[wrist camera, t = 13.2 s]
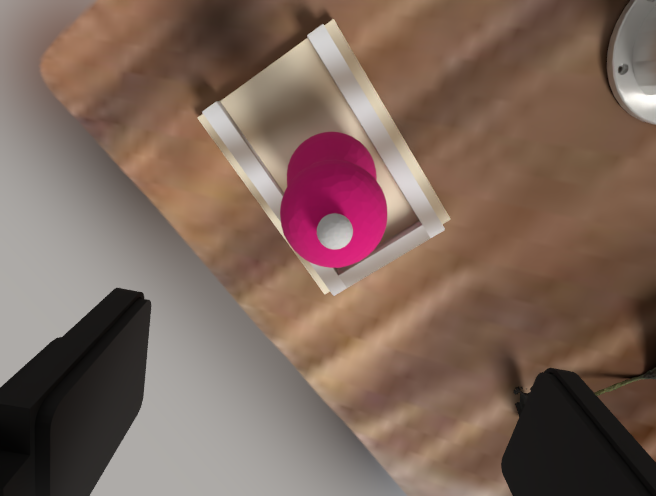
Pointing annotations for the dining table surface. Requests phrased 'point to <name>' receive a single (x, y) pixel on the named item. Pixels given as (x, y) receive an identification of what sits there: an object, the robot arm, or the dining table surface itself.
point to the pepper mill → (333, 201)
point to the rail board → (317, 117)
